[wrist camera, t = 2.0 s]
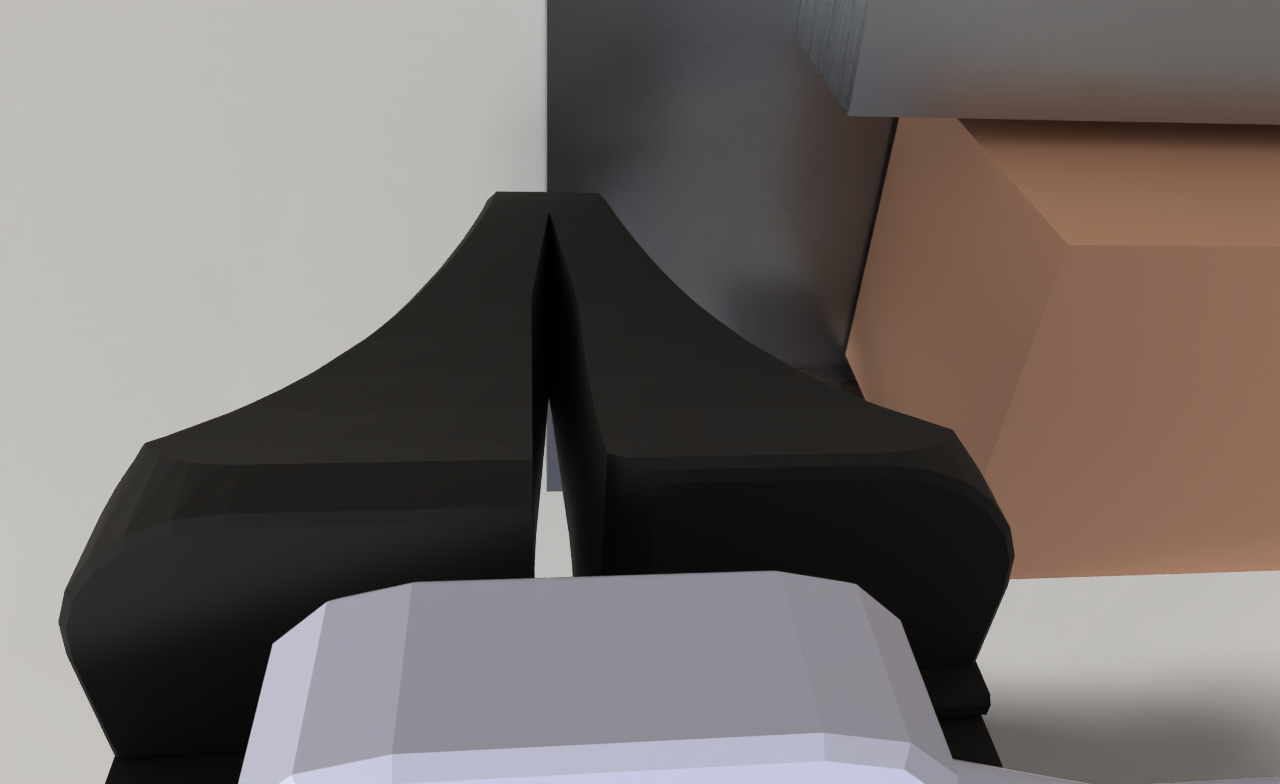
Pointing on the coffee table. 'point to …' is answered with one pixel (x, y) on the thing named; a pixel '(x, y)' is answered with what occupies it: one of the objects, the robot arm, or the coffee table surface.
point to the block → (1089, 332)
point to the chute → (845, 124)
